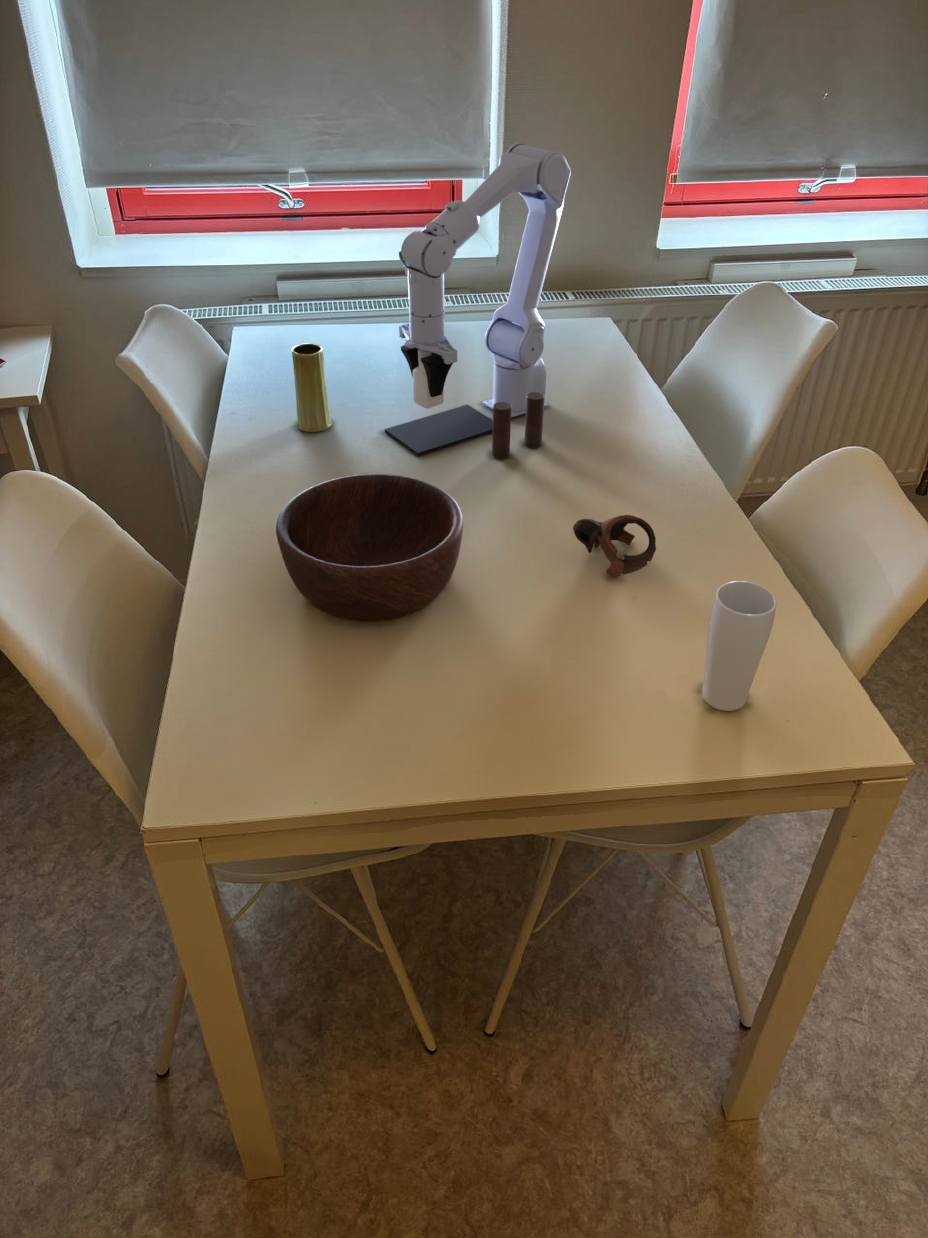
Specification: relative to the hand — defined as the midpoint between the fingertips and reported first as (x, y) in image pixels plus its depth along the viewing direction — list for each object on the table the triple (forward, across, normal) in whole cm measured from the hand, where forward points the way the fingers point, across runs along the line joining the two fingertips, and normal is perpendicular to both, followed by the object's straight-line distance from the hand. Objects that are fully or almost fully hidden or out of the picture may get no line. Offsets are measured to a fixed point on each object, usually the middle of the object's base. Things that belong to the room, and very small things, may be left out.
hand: (428, 390), depth 163 cm
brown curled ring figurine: (+10, +46, +1) cm, 47 cm away
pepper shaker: (+3, 0, 0) cm, 3 cm away
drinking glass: (+9, +76, -8) cm, 78 cm away
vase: (+10, -17, -14) cm, 24 cm away
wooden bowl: (+9, +31, -30) cm, 44 cm away
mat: (+9, -2, +4) cm, 10 cm away
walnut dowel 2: (+9, +12, +14) cm, 20 cm away
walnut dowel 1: (+9, +12, +7) cm, 16 cm away
